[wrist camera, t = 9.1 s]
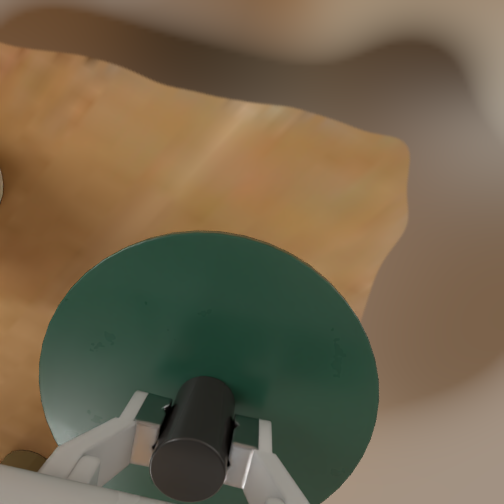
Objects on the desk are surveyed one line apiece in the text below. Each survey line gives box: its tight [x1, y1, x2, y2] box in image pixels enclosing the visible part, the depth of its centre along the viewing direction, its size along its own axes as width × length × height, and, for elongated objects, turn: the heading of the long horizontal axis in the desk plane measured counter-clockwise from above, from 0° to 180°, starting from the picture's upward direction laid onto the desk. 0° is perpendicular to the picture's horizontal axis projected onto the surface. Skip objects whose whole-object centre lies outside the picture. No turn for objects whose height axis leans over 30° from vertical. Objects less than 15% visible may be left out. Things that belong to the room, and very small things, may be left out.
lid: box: [39, 231, 379, 504], centre depth 13 cm, size 15×15×5 cm
